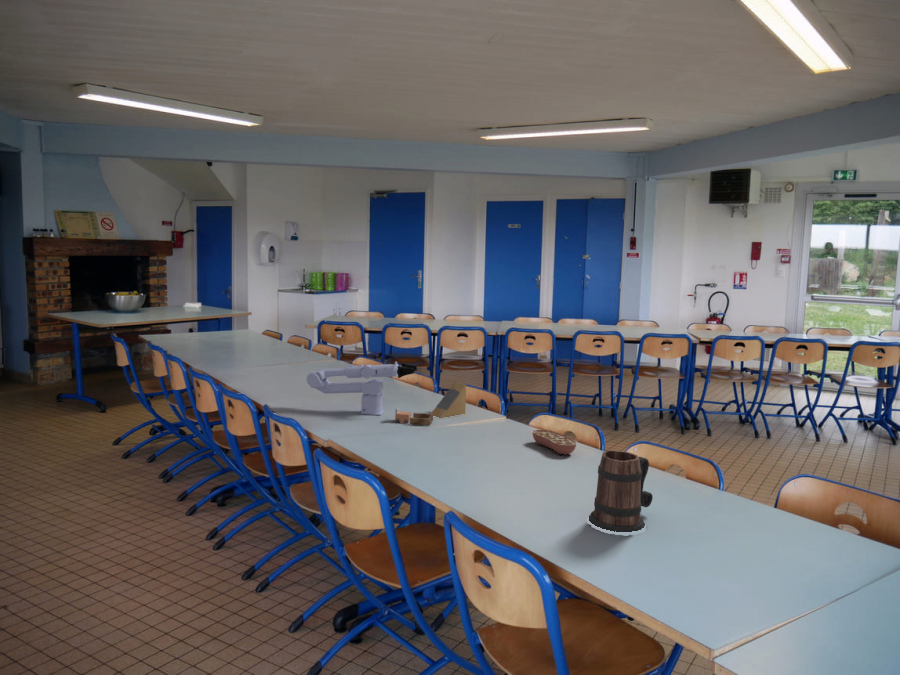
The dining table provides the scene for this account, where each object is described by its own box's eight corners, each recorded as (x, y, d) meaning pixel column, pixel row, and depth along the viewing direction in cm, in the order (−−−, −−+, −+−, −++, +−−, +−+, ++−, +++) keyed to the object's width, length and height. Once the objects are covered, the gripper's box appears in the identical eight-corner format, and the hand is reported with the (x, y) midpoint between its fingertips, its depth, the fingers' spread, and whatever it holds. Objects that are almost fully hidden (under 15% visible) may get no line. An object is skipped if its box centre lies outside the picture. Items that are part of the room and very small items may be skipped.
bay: (409, 424, 283) (409, 418, 283) (413, 419, 293) (413, 412, 293) (429, 425, 282) (430, 419, 282) (433, 420, 292) (433, 413, 292)
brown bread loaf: (527, 442, 262) (528, 430, 261) (548, 440, 266) (548, 428, 266) (560, 459, 241) (561, 446, 241) (582, 456, 246) (582, 443, 245)
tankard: (622, 541, 171) (626, 468, 169) (573, 520, 184) (577, 452, 182) (673, 521, 185) (678, 454, 183) (625, 503, 199) (629, 440, 196)
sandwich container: (428, 415, 302) (429, 383, 301) (454, 411, 312) (455, 380, 310) (439, 419, 296) (440, 387, 294) (465, 415, 305) (466, 384, 303)
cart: (395, 423, 286) (395, 408, 285) (397, 419, 292) (397, 405, 291) (408, 423, 286) (408, 409, 285) (410, 420, 292) (411, 406, 291)
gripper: (382, 364, 292) (412, 363, 290) (389, 359, 306) (417, 358, 304) (383, 379, 293) (412, 378, 291) (390, 374, 307) (418, 373, 305)
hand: (415, 369), depth 298 cm, fingers open, 7 cm apart
